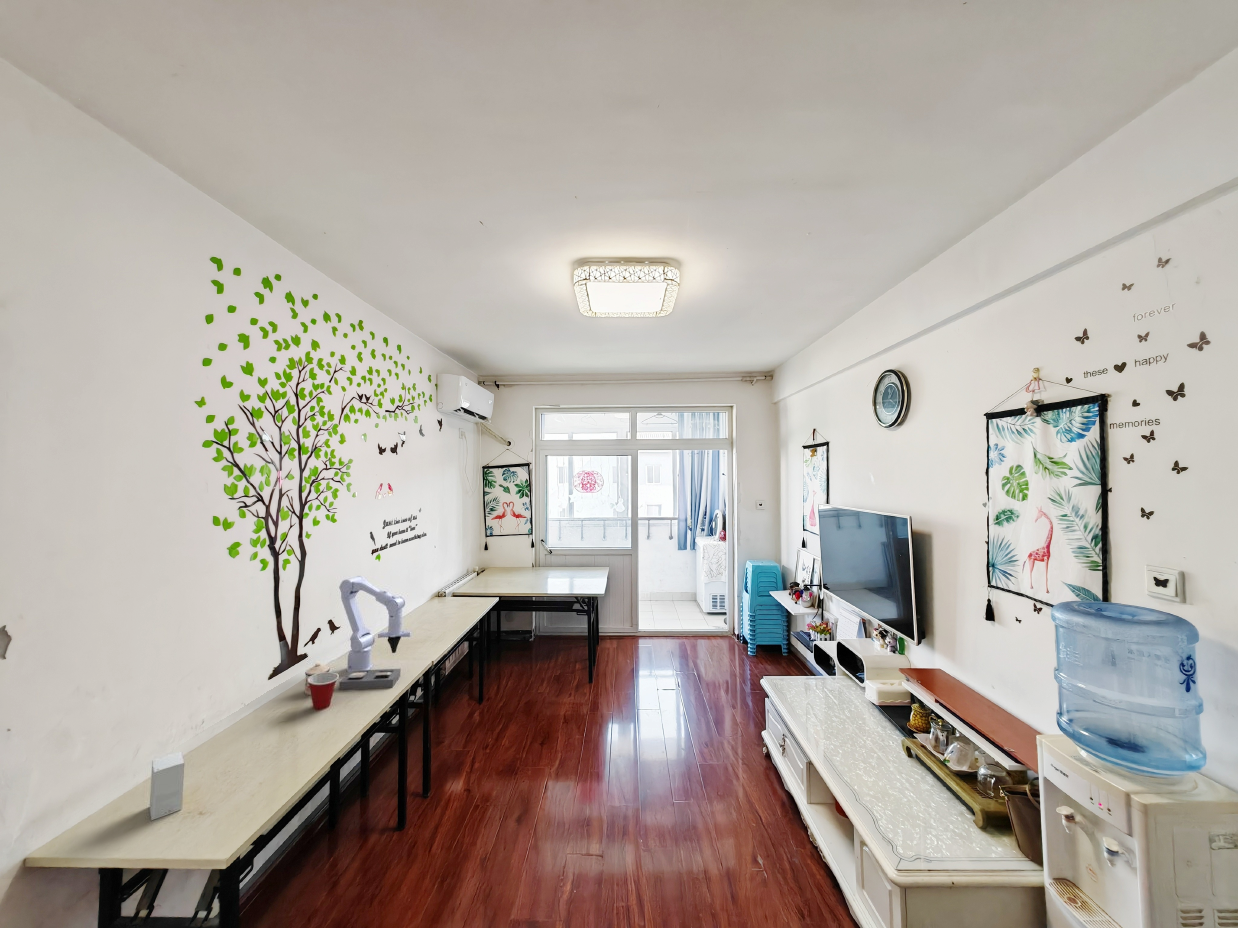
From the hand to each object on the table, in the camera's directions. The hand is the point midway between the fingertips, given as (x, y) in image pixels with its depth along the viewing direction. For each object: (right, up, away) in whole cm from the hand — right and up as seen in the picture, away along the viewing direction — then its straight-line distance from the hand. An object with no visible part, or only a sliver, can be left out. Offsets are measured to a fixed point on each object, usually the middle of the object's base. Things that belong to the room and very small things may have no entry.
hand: (394, 652), depth 228 cm
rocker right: (+1, -5, -11) cm, 12 cm away
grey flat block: (-5, -9, -12) cm, 16 cm away
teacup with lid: (-22, -9, -21) cm, 32 cm away
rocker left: (-10, -5, -13) cm, 17 cm away
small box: (-20, -7, -94) cm, 96 cm away
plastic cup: (-13, -9, -35) cm, 38 cm away
